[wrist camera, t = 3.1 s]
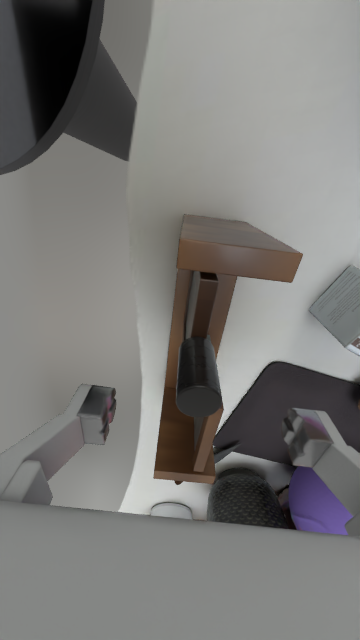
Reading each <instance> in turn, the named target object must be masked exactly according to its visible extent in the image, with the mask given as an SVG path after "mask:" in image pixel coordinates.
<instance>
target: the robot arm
mask: <svg viewBox="0 0 360 640" xmlns="http://www.w3.org/2000/svg"><path fill="white" fill-rule="evenodd" d="M115 394H116V390H115V388H110V387H103V386H95V385H87V384H81V385H80V386H79V387H78V389H77V391H76V393H75V394H74V396H73V398H72V399H71V401H70V403H69V405H68V406H67V408H66V410H65V412H64V413H63V415H62V414H59V415H58V416H56V417H55V418H53V419H52V420H50V421H49V422H47V423H46V424H44V425H43V426H41V427H40V428H38V429H37V430H36V431H34V432H32V433H31V434H29V435H28V436H26V437H25V438H23V439H22V440H21V441H19V442H18V443H16V444H15V445H13V446H12V447H10V448H9V449H7V450H6V451H4V452H3V453H1V454H0V640H360V453H358V452H357V451H356V450H355V449H353V448H352V447H351V446H347V445H346V443H345V441H344V440H343V438H342V437H341V435H340V433H339V432H338V430H337V429H336V427H335V425H334V424H333V422H332V421H331V419H330V417H329V416H328V414H327V413H326V412H325V411H317V410H310V409H300V408H290V409H289V410H288V412H287V414H288V417H286V418H284V419H283V421H282V423H281V433H282V437H283V439H284V441H285V442H286V443H287V444H288V445H289V446H288V449H287V450H288V453H289V455H290V458H291V461H292V463H293V465H295V466H303V467H310V468H312V469H313V470H314V472H315V473H316V474H317V475H318V476H319V477H320V479H321V480H322V481H323V482H324V483H325V484H326V486H327V487H328V488H329V489H330V490H331V492H332V493H333V494H334V495H335V496H336V497H337V499H338V500H339V501H340V502H341V503H342V504H343V506H344V507H345V508H346V509H347V510H348V511H349V513H350V514H351V515H352V516H353V517H352V518H351V519H350V520H349V521H347V522H346V524H345V526H344V527H345V529H346V531H347V533H348V535H341V534H331V533H321V532H311V531H301V530H291V529H281V528H271V527H261V526H251V525H241V524H231V523H222V522H212V521H202V520H192V519H182V518H172V517H162V516H152V515H142V514H132V513H122V512H112V511H102V510H101V511H100V510H90V509H81V508H71V507H61V506H51V505H50V503H51V500H52V498H53V496H52V493H51V490H50V488H49V485H48V482H47V481H48V480H49V479H50V478H51V477H52V476H53V475H54V474H55V473H56V472H57V471H58V470H59V469H60V468H61V467H62V466H63V465H64V464H65V463H66V462H67V461H68V460H69V459H70V458H71V457H72V456H74V455H75V454H76V453H77V452H78V450H79V449H81V448H82V447H83V446H84V444H85V443H86V444H98V445H104V444H105V441H106V438H107V436H108V433H109V424H110V423H111V422H112V421H113V417H114V414H115V410H116V400H115V399H114V397H115Z"/></svg>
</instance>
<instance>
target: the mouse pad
mask: <svg viewBox="0 0 360 640" xmlns="http://www.w3.org/2000/svg"><path fill="white" fill-rule="evenodd" d="M359 399H360V385H356V384H353V383H350V382H347V381H343V380H340V379H337V378H333V377H330V376H327V375H324V374H320V373H317V372H314V371H310V370H307V369H304V368H301V367H297V366H294V365H291V364H287V363H283V362H275V363H272V364H270V365H269V366H268V367H267V368H266V369H265V370H264V371H263V372H262V374H261V375H260V377H259V378H258V379H257V381H256V382H255V383H254V385H253V386H252V388H251V389H250V390H249V392H248V393H247V394H246V396H245V397H244V398H243V400H242V401H241V403H240V404H239V405H238V407H237V408H236V409H235V411H234V412H233V414H232V415H231V416H230V418H229V419H228V420H227V422H226V423H225V425H224V426H223V427H222V429H221V430H220V431H219V433H218V434H217V436H216V437H215V438H214V440H213V445H214V446H215V447H217V448H220V449H224V450H225V449H228V448H230V447H232V446H235V445H237V444H239V443H241V445H239V446H238V447H237V448H236V449H235V450H233V452H237V453H241V454H245V455H250V456H254V457H258V458H262V459H267V460H271V461H275V462H279V463H284V464H288V465H292V466H295V465H293V463H292V461H291V458H290V455H289V453H288V450H287V449H288V446H289V445H288V444H287V443H286V442H285V441H284V439H283V437H282V433H281V423H282V421H283V419H284V418H286V417H288V414H287V412H288V410H289V409H290V408H300V409H310V410H317V411H325V412H326V413H327V414H328V416H329V417H330V419H331V421H332V422H333V424H334V425H335V427H336V429H337V430H338V432H339V433H340V435H341V437H342V438H343V440H344V441H345V443H346V445H347V446H351V447H352V448H353V449H355V450H356V451H357V452H358V453H360V410H359V409H358V407H357V406H358V402H359ZM297 467H298V466H297Z"/></svg>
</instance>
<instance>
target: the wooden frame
mask: <svg viewBox="0 0 360 640" xmlns="http://www.w3.org/2000/svg"><path fill="white" fill-rule="evenodd" d="M302 256H303V254H302V253H300V252H298V251H297V250H295V249H293V248H291V247H289V246H288V245H286V244H284V243H282V242H281V241H279V240H277V239H275V238H273V237H272V236H270V235H268V234H266V233H264V232H263V231H261V230H259V229H257V228H256V227H254V226H252V225H250V224H249V223H247V222H240V221H232V220H224V219H217V218H209V217H201V216H194V215H186V214H184V217H183V223H182V228H181V234H180V239H179V248H178V258H177V269H178V271H177V280H176V289H175V298H174V307H173V316H172V325H171V334H170V342H169V351H168V360H167V369H166V378H165V387H164V395H163V403H162V412H161V420H160V428H159V436H158V444H157V453H156V461H155V469H154V479H165V480H176V481H186V482H197V483H207V484H213V482H214V480H215V477H216V474H215V464H214V453H213V440H214V437H215V434H216V431H217V428H218V425H219V422H220V419H221V416H222V413H223V410H224V408H223V402H222V405H221V407H220V409H219V410H218V411H217V412H216V413H214V414H212V415H210V416H207V417H191V416H188V415H186V414H184V413H182V412H181V411H180V410H179V409H178V407H177V405H176V388H177V371H178V355H179V347H180V345H181V343H182V338H183V323H184V316H185V309H186V302H187V295H188V288H189V281H190V274H191V270H192V271H200V272H208V273H216V274H217V277H218V280H219V284H218V289H217V294H216V298H215V302H214V307H213V312H212V316H211V321H210V325H209V330H208V335H207V340H209V341H210V342H211V343H212V345H213V347H214V352H215V358H216V357H217V353H218V350H219V346H220V342H221V338H222V334H223V330H224V326H225V322H226V318H227V315H228V311H229V307H230V303H231V299H232V295H233V291H234V287H235V283H236V280H237V276H241V277H249V278H257V279H265V280H273V281H281V282H289V283H291V282H292V281H293V279H294V276H295V274H296V271H297V269H298V266H299V264H300V261H301V259H302Z"/></svg>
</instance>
